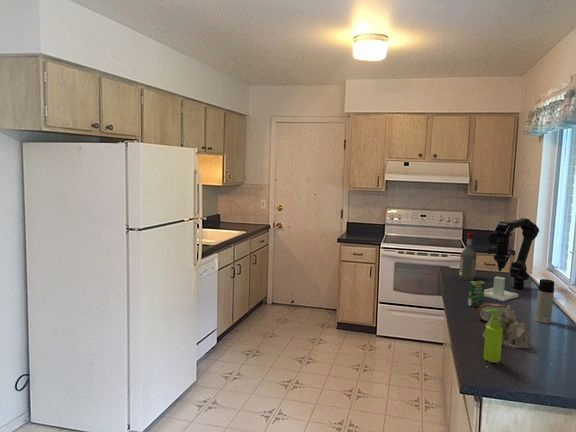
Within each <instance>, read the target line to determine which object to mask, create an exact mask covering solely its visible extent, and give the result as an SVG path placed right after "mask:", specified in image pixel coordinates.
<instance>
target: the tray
mask: <svg viewBox="0 0 576 432" xmlns="http://www.w3.org/2000/svg"><path fill="white" fill-rule="evenodd" d="M485 297H486V298H489V299H493V300H496V299H497V301H500V302H507V301H510V300H514V299H517V298H519V293H517V292H511V291H507V290H505V289H504V295H503V297H500V296H496V295H493V287H490V288H487V289H484V298H485Z"/></svg>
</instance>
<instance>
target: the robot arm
mask: <svg viewBox="0 0 576 432" xmlns="http://www.w3.org/2000/svg"><path fill="white" fill-rule="evenodd" d="M517 228H520V229H521V230H522V233H521V234H522V237H523V239H522V242H521V246H520V249H519V252H518V255H517V258H516V261H515V262H513V261H512V263H511V265H510V267H509V273H510V277H511V278H513V285H512V286H510V288H511V289H516V290H519V291H521V290H525V289H527V287H525V281H528V280H529V278H530V275H529V274H528V272H527V270H528V268H527V264H526V262H527V259H528V255H529V252H530V250H531V246H532V244H533V241H534V240H536V238H537V237H538V234H539V233H540V228H539V226H538V225H537V224H535V223H534V222H532V221H531V219H529V218H525V217H521V218H519V219H515V220H512V221H499V222H498V224H496V227H495V229H494V231H493V232H491V234H489V236H488V239H487V240H488V243H489V244H491V245H496V246H495V247H494V246H493V247H492V246H491V247H487V249H486V253H487V255H491V254H492V255H493V254H494V255H493V260H494V261H495V262H496V263H497V269H498V272H501V271H502V270H503V269H505V268H506V265H507V264H508V261H509V260H510V258H511V254H512V253H511V251H509V249H510V237H511V236H512V232H513V231H514V230H515V229H517Z"/></svg>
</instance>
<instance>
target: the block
mask: <svg viewBox="0 0 576 432" xmlns="http://www.w3.org/2000/svg"><path fill="white" fill-rule="evenodd" d="M505 286H506V277H502V276H495V277H493V287H492V288H493V295H496V296H500V297H503V295H504V290H505Z"/></svg>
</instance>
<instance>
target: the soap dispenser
mask: <svg viewBox="0 0 576 432" xmlns="http://www.w3.org/2000/svg"><path fill="white" fill-rule="evenodd" d="M485 311H486V312H487V313H489V312H493V317H491V318H490V325H487V326H485V328H486V333H485V340H484V346H483V349H484V350H483V358H484V359H485V360H488V361H491V362H499V361H500V362H501V355H502V335H503V328H502V327H500V319H499V318H498V312H501V311H500V310H498V309H487V310H485Z"/></svg>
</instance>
